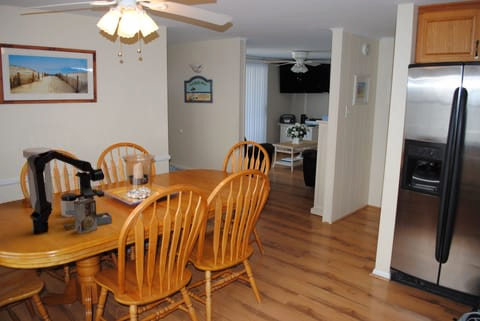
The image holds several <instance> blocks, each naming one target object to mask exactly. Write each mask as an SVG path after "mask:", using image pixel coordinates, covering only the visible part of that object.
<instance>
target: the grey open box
mask: <svg viewBox="0 0 480 321" xmlns="http://www.w3.org/2000/svg"><path fill="white" fill-rule="evenodd" d="M96 215H97V227H98V226H104V225H110V224H113V218H112V215H111V214H110V213H109V211H105V212H101V213H96ZM104 215H107V216H108V217H102V216H104Z"/></svg>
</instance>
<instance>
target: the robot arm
mask: <svg viewBox="0 0 480 321" xmlns="http://www.w3.org/2000/svg"><path fill="white" fill-rule="evenodd" d="M53 160H57V161H60V162H63V163H65V164H68V165H70V166H72V167H73V168H75V169H77V170H79V171H77V172H76V173H75V174H74V175H75V177H78V178H79V179H78V180H79V194H77V193H75V192H72V193H73V194H68V195H67V199H68V201H76V199H77V200H78V201H79V200H83V199H87V198H91V199H93V200H95V197H98V198H103V197H105V192H104V191H103V190H102V189H96V188H92V183H93V182H99V181H103V180H104V179H105V173H104V171H103V168H100V167H99V168H96V169H94V167H93V166H92V163H91V162H89V161H86V160H82V159H77V158H74V157H72V156H69V155H65V154H64V153H61V152H58V151H57V150H53V149H52V150H49V151H47V152H44V153H40V154H37V155H31V156H30V157H29V158H28V163H29V166H30V168H31V170H32V172H33V176H34V184H35V192H36V203H35V208H34V209H33V210H34V211H33V212H32V213H31V214H30V216H29V217H30V219H31V220H32V232H33V235H40V234H46V233H49V230H50V229H49V217H50V216H51V215H52V211H53V208H52V207H53V206H52V203H51V202H49V201H47V199H46V190H45V174H44V169H45V164H46V163H48V162H50V163H51V162H52V161H53ZM80 171H81V172H80Z"/></svg>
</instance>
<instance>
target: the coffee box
mask: <svg viewBox="0 0 480 321" xmlns="http://www.w3.org/2000/svg"><path fill="white" fill-rule="evenodd" d="M96 203H97V202H96V199H91V198H87V199H83V200H79V199H78V201H74V214H75V216H74V224H75V229H74V230H75V232H77V233H79V234H81V235H83V234H86V233H90V232H93V231H96V230H98V226H97V215H96V214H97V204H96Z"/></svg>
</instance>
